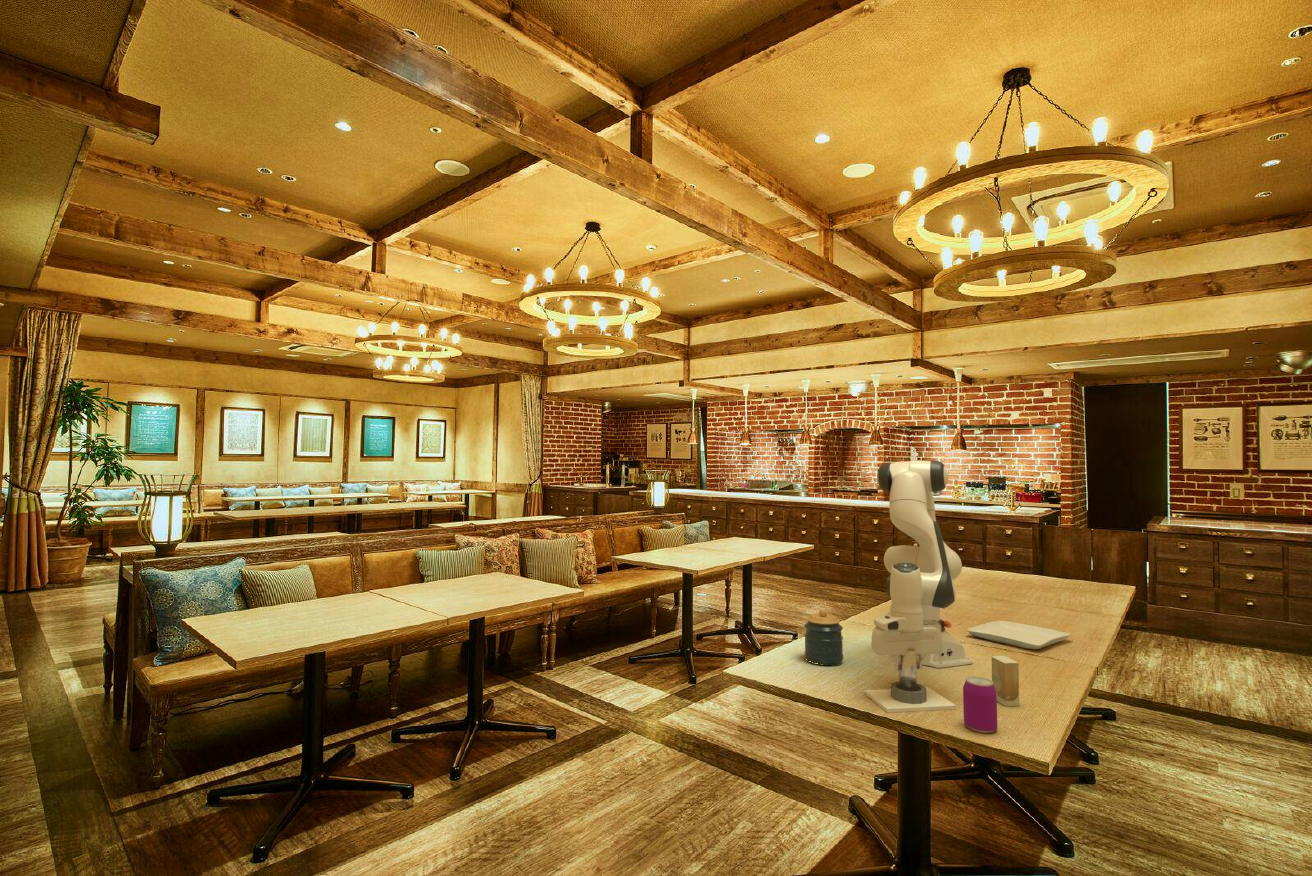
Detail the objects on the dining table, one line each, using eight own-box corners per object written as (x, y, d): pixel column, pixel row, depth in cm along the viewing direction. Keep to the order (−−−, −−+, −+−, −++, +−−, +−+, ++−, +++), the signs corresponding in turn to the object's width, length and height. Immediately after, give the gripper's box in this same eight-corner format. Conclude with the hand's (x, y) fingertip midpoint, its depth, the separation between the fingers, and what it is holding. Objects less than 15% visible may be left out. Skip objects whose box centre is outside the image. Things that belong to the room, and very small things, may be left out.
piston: (911, 680, 177) (910, 643, 177) (920, 686, 172) (919, 648, 173) (895, 681, 176) (895, 644, 177) (904, 687, 172) (903, 649, 172)
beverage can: (993, 737, 151) (992, 688, 151) (960, 728, 156) (958, 681, 157) (1001, 727, 157) (999, 680, 157) (968, 719, 162) (967, 673, 162)
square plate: (1072, 643, 233) (1072, 632, 233) (1039, 655, 217) (1039, 644, 218) (1000, 627, 255) (999, 618, 255) (965, 638, 240) (964, 628, 240)
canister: (800, 663, 208) (799, 611, 209) (809, 653, 220) (808, 603, 220) (839, 669, 202) (838, 615, 203) (846, 658, 213) (845, 607, 214)
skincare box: (991, 698, 176) (990, 655, 177) (1005, 697, 177) (1004, 655, 177) (1005, 707, 170) (1004, 662, 170) (1020, 706, 170) (1019, 662, 171)
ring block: (927, 690, 182) (927, 677, 182) (956, 709, 168) (955, 694, 169) (864, 693, 180) (864, 680, 180) (887, 712, 166) (887, 697, 166)
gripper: (934, 617, 180) (935, 664, 179) (868, 619, 177) (869, 667, 177) (947, 622, 173) (948, 672, 173) (878, 624, 171) (879, 674, 170)
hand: (907, 669), depth 175 cm, fingers closed on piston, 5 cm apart
